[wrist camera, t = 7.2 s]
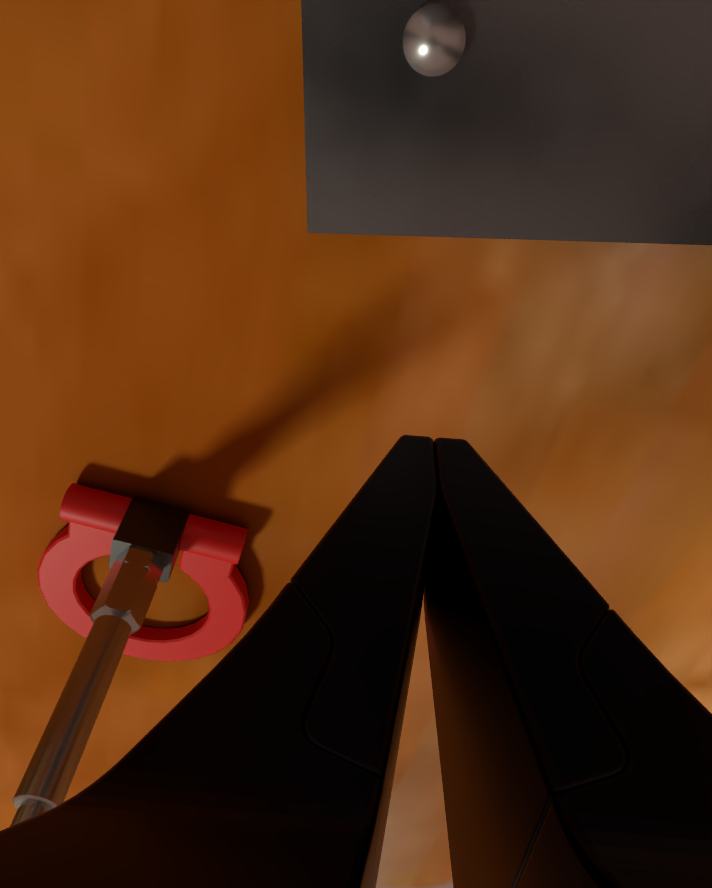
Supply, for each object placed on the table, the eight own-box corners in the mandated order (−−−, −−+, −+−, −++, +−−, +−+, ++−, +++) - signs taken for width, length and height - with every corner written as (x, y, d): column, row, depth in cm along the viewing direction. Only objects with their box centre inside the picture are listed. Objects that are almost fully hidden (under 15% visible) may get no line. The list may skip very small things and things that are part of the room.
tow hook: (231, 657, 31) (275, 524, 25) (142, 1015, 21) (181, 926, 15) (48, 613, 30) (51, 464, 24) (-140, 968, 20) (-210, 854, 14)
